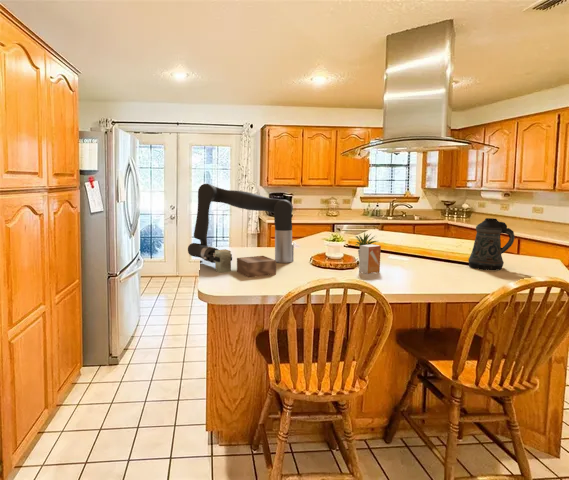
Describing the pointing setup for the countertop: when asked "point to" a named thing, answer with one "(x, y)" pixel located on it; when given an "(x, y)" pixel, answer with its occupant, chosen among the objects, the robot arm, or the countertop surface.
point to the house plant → (364, 242)
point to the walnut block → (256, 266)
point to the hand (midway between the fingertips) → (225, 259)
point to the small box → (369, 258)
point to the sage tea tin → (223, 260)
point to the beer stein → (489, 245)
